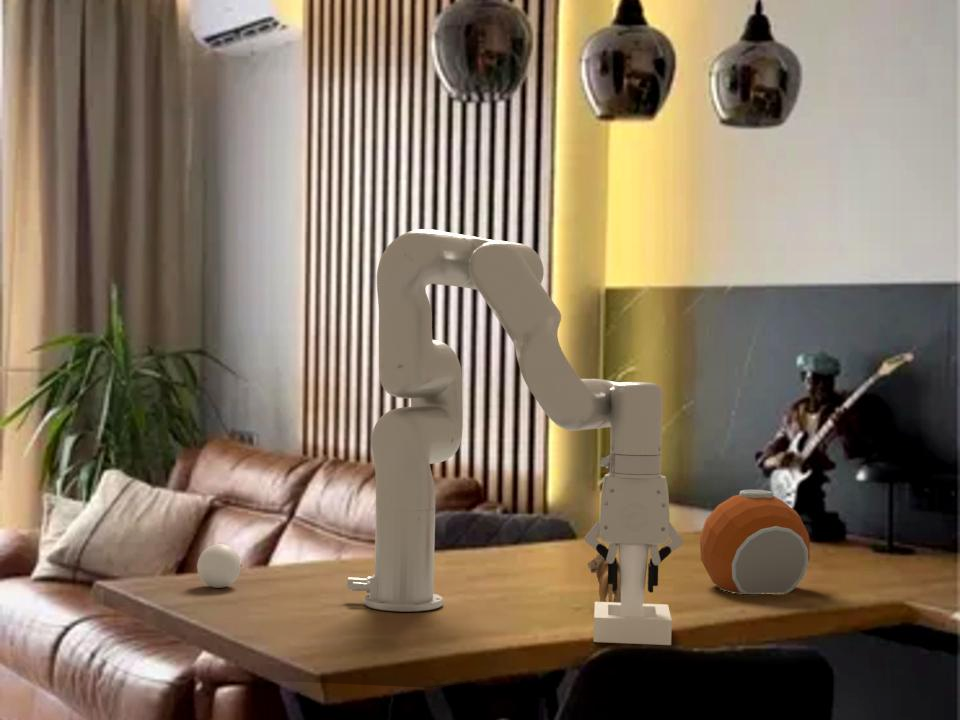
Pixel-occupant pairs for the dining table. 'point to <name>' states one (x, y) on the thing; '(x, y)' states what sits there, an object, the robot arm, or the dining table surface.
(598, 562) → the lion figurine
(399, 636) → the dining table surface
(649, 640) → the white rectangular box
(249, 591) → the dining table surface
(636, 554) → the perfume bottle
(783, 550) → the alarm clock
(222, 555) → the off-white rounded piece
